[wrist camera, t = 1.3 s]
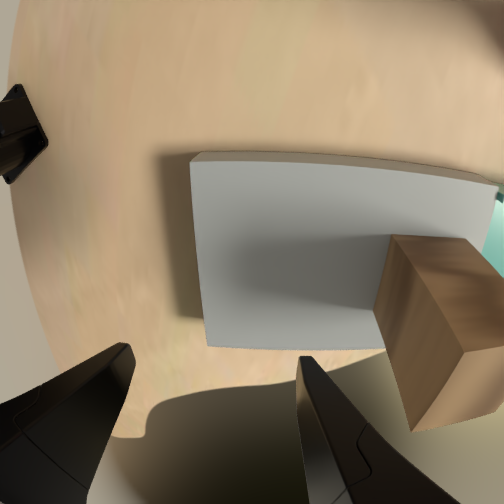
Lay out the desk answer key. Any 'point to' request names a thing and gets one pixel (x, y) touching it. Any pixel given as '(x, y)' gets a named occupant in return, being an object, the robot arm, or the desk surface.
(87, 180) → the desk surface
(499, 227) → the tray
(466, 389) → the brick
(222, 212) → the plate
